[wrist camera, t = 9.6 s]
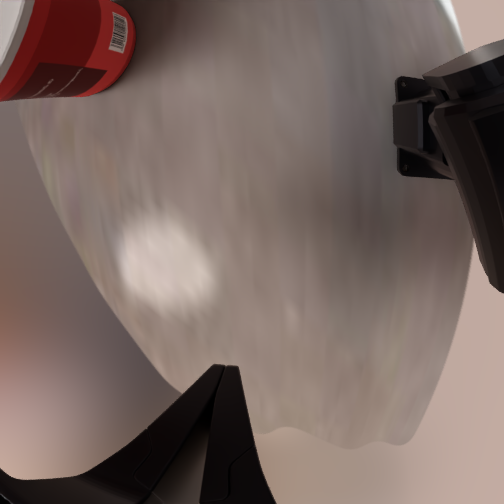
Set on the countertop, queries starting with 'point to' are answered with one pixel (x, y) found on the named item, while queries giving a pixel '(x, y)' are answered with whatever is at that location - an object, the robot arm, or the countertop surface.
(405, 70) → the countertop surface
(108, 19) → the canned food
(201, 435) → the robot arm
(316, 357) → the countertop surface
